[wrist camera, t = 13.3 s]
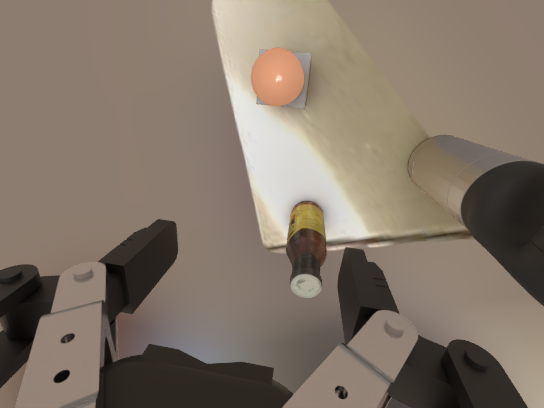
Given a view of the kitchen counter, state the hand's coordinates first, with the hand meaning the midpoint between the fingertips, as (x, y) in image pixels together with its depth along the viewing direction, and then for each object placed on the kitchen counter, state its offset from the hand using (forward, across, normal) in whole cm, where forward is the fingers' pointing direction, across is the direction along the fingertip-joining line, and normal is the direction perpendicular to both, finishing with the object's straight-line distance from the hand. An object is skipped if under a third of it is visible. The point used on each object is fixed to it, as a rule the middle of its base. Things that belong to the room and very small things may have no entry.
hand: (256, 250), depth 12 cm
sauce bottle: (+36, -4, +15) cm, 39 cm away
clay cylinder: (+24, +2, -8) cm, 26 cm away
